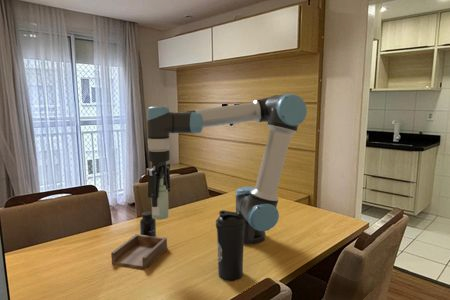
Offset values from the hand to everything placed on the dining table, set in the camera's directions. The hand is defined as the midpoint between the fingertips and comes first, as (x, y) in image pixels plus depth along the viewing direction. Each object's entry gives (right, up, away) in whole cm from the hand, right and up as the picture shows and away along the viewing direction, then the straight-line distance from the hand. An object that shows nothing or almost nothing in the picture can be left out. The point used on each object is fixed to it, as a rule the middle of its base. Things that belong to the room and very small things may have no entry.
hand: (160, 211), depth 111 cm
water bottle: (+26, -21, -5) cm, 34 cm away
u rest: (-10, -19, +8) cm, 23 cm away
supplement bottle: (-10, -17, +24) cm, 31 cm away
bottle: (0, -2, 0) cm, 2 cm away
